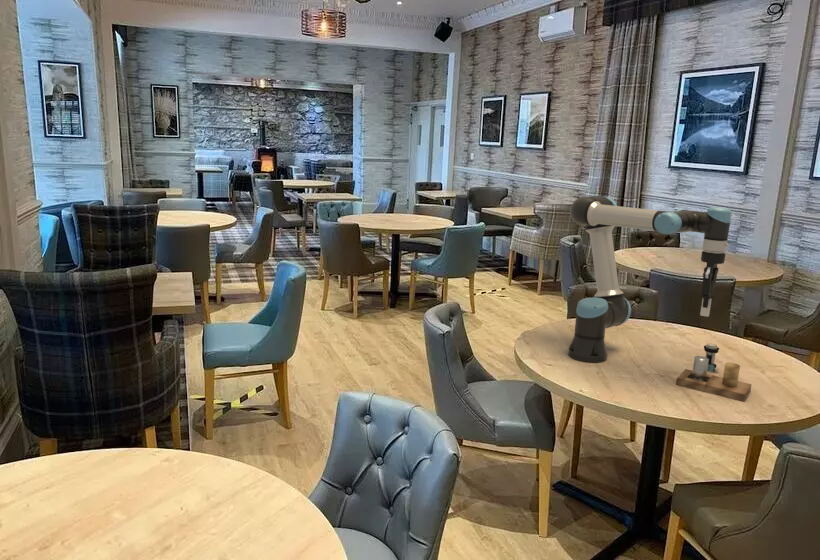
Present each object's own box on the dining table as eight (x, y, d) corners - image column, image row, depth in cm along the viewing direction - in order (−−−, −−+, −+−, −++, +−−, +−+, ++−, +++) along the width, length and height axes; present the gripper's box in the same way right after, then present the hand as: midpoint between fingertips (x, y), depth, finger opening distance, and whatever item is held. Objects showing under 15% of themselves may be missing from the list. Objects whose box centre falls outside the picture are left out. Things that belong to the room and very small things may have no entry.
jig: (676, 384, 216) (679, 358, 214) (684, 375, 226) (688, 350, 223) (744, 401, 203) (748, 373, 201) (750, 391, 212) (754, 364, 210)
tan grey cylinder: (689, 384, 217) (693, 358, 215) (692, 380, 221) (696, 355, 218) (703, 387, 214) (707, 361, 212) (706, 384, 218) (710, 357, 216)
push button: (722, 372, 230) (725, 347, 228) (712, 373, 228) (716, 348, 226) (707, 366, 236) (710, 342, 234) (697, 367, 234) (701, 343, 232)
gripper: (721, 255, 205) (711, 321, 210) (729, 250, 215) (719, 314, 220) (698, 252, 209) (688, 317, 214) (706, 248, 219) (697, 310, 224)
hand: (704, 315), depth 217 cm, fingers closed
